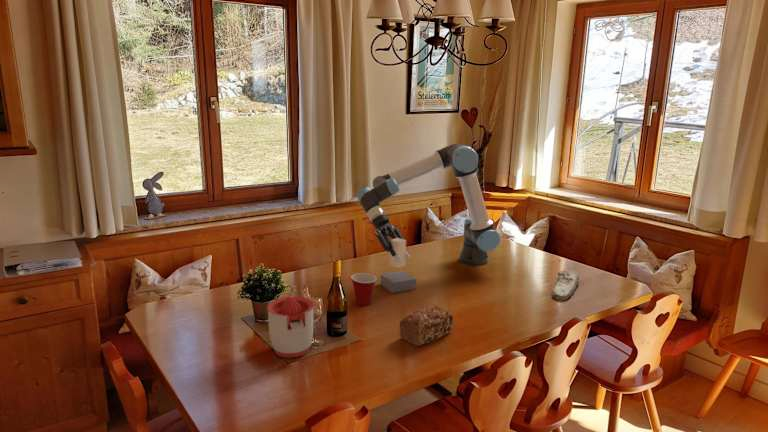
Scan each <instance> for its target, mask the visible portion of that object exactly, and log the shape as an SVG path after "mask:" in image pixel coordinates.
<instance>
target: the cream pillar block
mask: <svg viewBox="0 0 768 432" xmlns="http://www.w3.org/2000/svg"><path fill="white" fill-rule="evenodd" d="M390 241H391V244H392V247H393V248H395V249H396V251H397V252H398V254H399V256H400V257H401V259H402V260H401V261H400V262H399V263H397V261H396V260H395V258H394V257H393V256H392V254H391V253H390V252H389V266H392V267H395V268H397V269H399V268H402V267H405V266H406V260H405V257H406V249H407V240H406V239H405V238H404V239H401V238H395V239H392V238H391V239H390Z"/></svg>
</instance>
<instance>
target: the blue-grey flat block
mask: <svg viewBox="0 0 768 432" xmlns="http://www.w3.org/2000/svg"><path fill="white" fill-rule="evenodd" d="M380 285H382V286H383V287H384V288H385V289H387V290H388V291H389V292H390V293H398V292H399V293H401V292H405V291H410V290H412V291H413V290H416V289H417V279H416V278H415V277H413V276H412V275H411V274H409V273H408V272H407V271H405V270H401V271H394V272H387V273H380Z"/></svg>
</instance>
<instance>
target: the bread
mask: <svg viewBox="0 0 768 432" xmlns="http://www.w3.org/2000/svg"><path fill="white" fill-rule="evenodd" d="M453 318H454V317H453V314H452V313H451V312H450V311H448V310H447V309H445V308H444V307H441V306H438V305H433V306H429V307H422V308H420V309H417V310H415V311H412V312H410V313H409V314H406V315H405V316H403V317H402V318H401V319H400V320H399V322H400V323H399V331H400V332H399V334H400V338H401V339H402V340H403V341H406V342H407V343H410V344H412V345H414V346H415V347H419V346H422V345H423V344H428V343H431V342H432V341H435V340H437V339H439V338H442V337H443V336H446V334H449V333H451V331H452V327H453V323H454V322H453Z"/></svg>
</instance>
